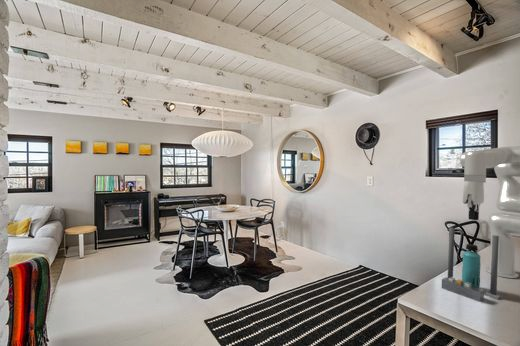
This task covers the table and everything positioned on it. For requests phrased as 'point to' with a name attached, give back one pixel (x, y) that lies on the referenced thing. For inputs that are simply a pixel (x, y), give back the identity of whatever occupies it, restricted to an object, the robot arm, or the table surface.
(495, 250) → the cord post
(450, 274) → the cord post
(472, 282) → the beverage bottle
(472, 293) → the pdu strip
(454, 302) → the table surface
